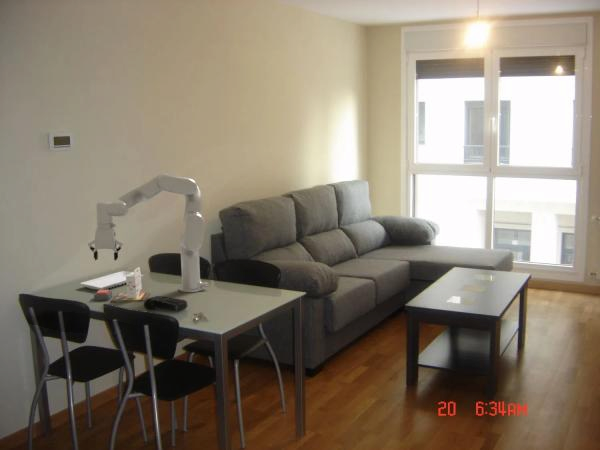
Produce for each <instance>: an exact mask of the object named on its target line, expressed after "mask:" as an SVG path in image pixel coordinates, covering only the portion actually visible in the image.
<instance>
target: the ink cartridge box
mask: <svg viewBox="0 0 600 450" xmlns="http://www.w3.org/2000/svg"><path fill="white" fill-rule="evenodd" d="M141 273H142V272H141V267H140V266H138V267H136V268H135V269H134V270H133V271H131V273H130V274H129V275H127V276H126V284H125V285H126V293H127V297H128V298H135V299H136V298H138V297H139V296H140V295H141V294H142V293H143V287H142V277H141Z"/></svg>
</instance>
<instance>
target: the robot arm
mask: <svg viewBox="0 0 600 450" xmlns="http://www.w3.org/2000/svg"><path fill="white" fill-rule="evenodd" d="M164 192H167V193H173V194H177V195H183V196H184V199H185V205H184V213H183V218H182V219H183V220H182V221H183V224H184V226H185V231H183V232H182V233H181V234H180V236H179V249H180V266H181V267H180V268H181V286H180V287H179V289H178V290H179V292H183V293H197V292H200V291H203V290H204V287H209V285H210V284H209V282H207V281H202V279H201V270H200V267H201V266H200V251H199V250H200V249H201V247H202V245H203V240H204V233H205V219H204V217H203V215H202V208H203V207H202V206H203V205H202V204H203V196H202V191H201V189H200V187H199V186H198V184H197V183H196V181H195V180H194V179H192V178H190V177H187V176H183V177H180V176H176V175H172V174H169V173H167V172H161V173H159V174H157V175H155V176H154V177H153V178H151V179H149V180H147V181H146V182H144V183H143V184H142V185H139V186H138V187H136V188H134V189H132V190H130V191H128V192H126V193H125V194H123V195H121V196H119V197H118V198H116V199H115V200H114V201H113V202H110V201H98V202H97V203H96V229H95V233H94V240H92V241H91V242H89V243H87V245H88V248H89V249H90V250H91V251H92V252H93V259H94V261H97V260H98V259H99V251H98V250H113V251H114V252H113V260H114V261H117V260H118V258H119V252H120V251H121V249H122V247H123V246H124V243H123V242H121V241H119V240H117V235H116V233H117V232H116V229H115V227H116V226H117V224H115V223H114V221H113V217H119V218H121V217H124V216H126V215H128V213H129V209H131V208H133V207H134V206H136V205H138V204H141V203H146V202H149V201H150V200H153V199H155V197H157V196H159V195H160V194H162V193H164ZM93 244H94V246H93ZM117 247H118V248H117Z"/></svg>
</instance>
